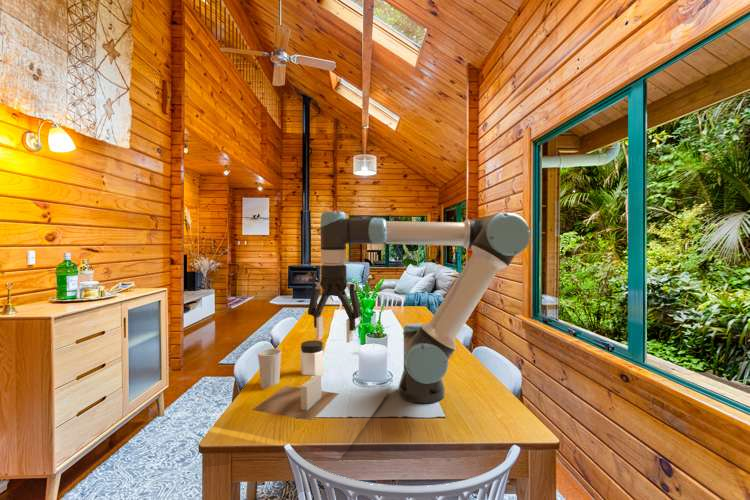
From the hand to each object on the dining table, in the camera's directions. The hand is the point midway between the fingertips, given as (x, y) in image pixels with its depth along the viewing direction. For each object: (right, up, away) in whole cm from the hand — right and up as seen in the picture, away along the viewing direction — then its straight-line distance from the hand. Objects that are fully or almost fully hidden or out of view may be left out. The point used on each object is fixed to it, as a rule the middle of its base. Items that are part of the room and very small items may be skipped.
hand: (334, 339), depth 105 cm
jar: (-12, -21, +30) cm, 39 cm away
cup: (-25, -21, +20) cm, 38 cm away
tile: (-7, -20, +3) cm, 22 cm away
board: (-12, -21, +5) cm, 25 cm away
